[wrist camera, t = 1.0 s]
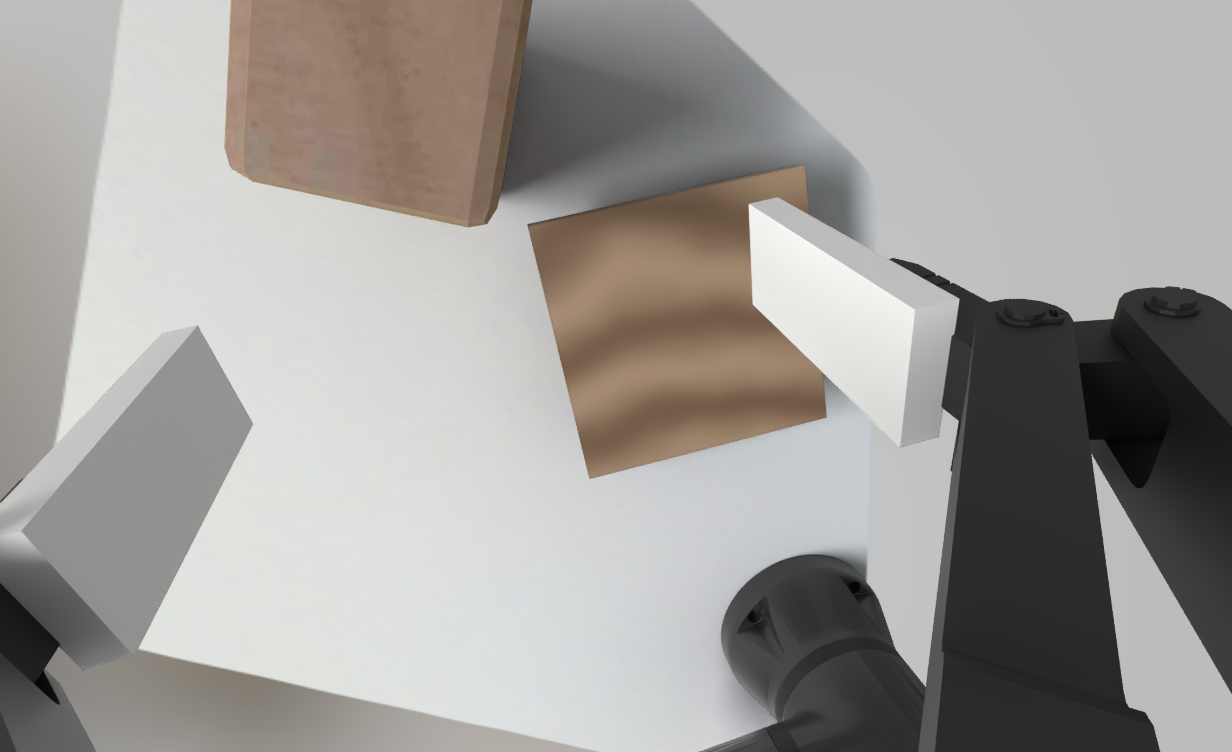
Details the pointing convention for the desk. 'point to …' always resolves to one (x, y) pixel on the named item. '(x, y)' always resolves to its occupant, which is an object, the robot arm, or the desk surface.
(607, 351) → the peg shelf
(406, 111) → the wooden block
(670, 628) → the desk surface
